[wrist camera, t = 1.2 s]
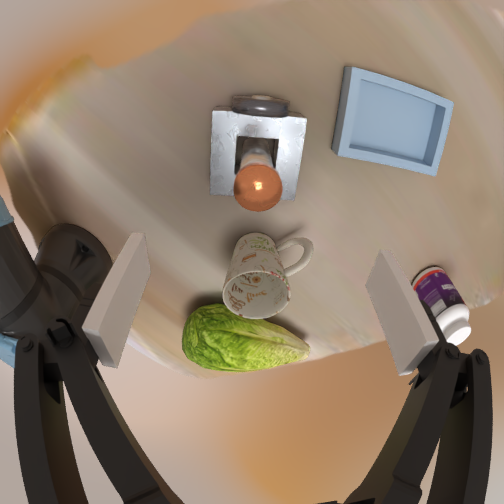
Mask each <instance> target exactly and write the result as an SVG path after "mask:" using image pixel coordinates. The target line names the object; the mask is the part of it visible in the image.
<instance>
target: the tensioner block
mask: <svg viewBox="0 0 504 504" xmlns="http://www.w3.org/2000/svg"><path fill="white" fill-rule="evenodd" d="M289 106H290V102H289V101H286V100H282V99H277V98H271V97H270V96H263V95H252V96H233V102H232V107H221V106H217V107H216V108H215V109H214V110H213V113H212V135H211V165H210V195H227V196H234V192H233V187H234V180H235V177H236V174H237V173H238V171H239V170H240V166H241V164H236V151H237V137H238V136H249V137H262V138H273V139H275V146H274V155H273V163H272V164H273V168H274V169H275V170H276V171H277V172H278V174H279V175H280V178H281V182H282V187H283V191H282V196H281V198H280V199H282V200H293V201H294V199H295V193H296V187H297V181H298V175H299V169H300V163H301V156H302V150H303V143H304V136H305V130H306V123H307V118H306V117H304V116H303V115H302V114H301V113H294V112H289Z"/></svg>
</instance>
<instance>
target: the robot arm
mask: <svg viewBox="0 0 504 504" xmlns="http://www.w3.org/2000/svg"><path fill="white" fill-rule="evenodd" d="M150 274H151V270H150V264H149V258H148V252H147V246H146V239H145V233H131V235H130V237H129V238H128V240H127V242H126V243H125V245H124V247H123V248H122V250H121V252H120V254H119V255H118V257H117V259H116V261H115V263H114V264H113V266H112V262H111V259H110V257H109V255H108V253H107V251H106V250H105V248H104V247H103V245H102V244H101V243H100V242H99V241H98V240H97V239H96V238H95V237H94V236H93V235H91V234H90V233H89V232H87V231H86V230H84V229H82V228H80V227H77V226H75V225H70V224H60V225H56V226H54V227H53V228H51V229H50V230H49V231H48V232H47V234H46V235H45V236H44V237H43V239H42V240H41V243H40V245H39V251H38V253H37V255H36V258H35V260H34V261H33V259H32V257H31V255H30V254H29V251H28V250H27V248H26V246H25V244H24V242H23V240H22V238H21V236H20V234H19V232H18V230H17V228H16V226H15V223H14V218H13V216H11V215H10V213H9V211H8V209H7V207H6V205H5V203H4V200H3V198H2V197H1V196H0V359H1V360H2V361H4V362H5V363H7V364H8V365H10V366H11V367H13V368H14V410H15V412H14V413H15V426H16V438H17V446H18V454H19V460H20V466H21V472H22V477H23V482H24V486H25V491H26V495H27V498H28V502H29V504H88V500H87V498H86V495H85V491H84V488H83V485H82V482H81V478H80V475H79V471H78V467H77V463H76V459H75V455H74V451H73V446H72V441H71V437H70V431H69V426H68V420H67V413H66V406H65V399H64V390H63V381H64V384H65V386H66V389H67V392H68V394H69V397H70V400H71V402H72V405H73V407H74V410H75V412H76V414H77V416H78V419H79V421H80V424H81V425H82V428H83V430H84V432H85V434H86V436H87V438H88V441H89V443H90V445H91V447H92V449H93V451H94V452H95V454H96V456H97V458H98V460H99V462H100V464H101V465H102V467H103V469H104V471H105V472H106V474H107V476H108V477H109V479H110V481H111V482H112V484H113V485H114V487H115V489H116V490H117V492H118V493H119V495H120V496H121V498H122V500H123V502H124V504H184V503H183V502H182V500H181V499H180V498H179V497H178V496H177V495H176V494H175V493H174V492H173V491H172V490H171V488H170V487H169V486H168V485H167V483H166V482H165V481H164V479H163V478H162V477H161V476H160V474H159V473H158V471H157V470H156V469H155V467H154V466H153V464H152V463H151V461H150V460H149V459H148V457H147V456H146V454H145V453H144V451H143V450H142V448H141V446H140V445H139V443H138V442H137V440H136V439H135V437H134V435H133V434H132V432H131V431H130V429H129V427H128V425H127V424H126V422H125V420H124V418H123V417H122V415H121V413H120V412H119V410H118V408H117V406H116V404H115V402H114V400H113V398H112V396H111V394H110V393H109V390H108V388H107V386H106V384H105V382H104V380H103V378H102V376H101V374H100V372H99V370H98V368H97V366H96V365H97V362H98V359H99V360H100V362H101V363H102V365H104V366H108V367H113V368H118V365H119V362H120V358H121V355H122V352H123V349H124V346H125V343H126V340H127V337H128V334H129V331H130V328H131V325H132V322H133V319H134V316H135V314H136V311H137V308H138V305H139V303H140V300H141V297H142V294H143V292H144V289H145V287H146V284H147V281H148V279H149V276H150ZM365 286H366V288H367V290H368V293H369V295H370V298H371V300H372V303H373V305H374V308H375V310H376V313H377V315H378V318H379V320H380V323H381V326H382V328H383V331H384V334H385V336H386V339H387V342H388V344H389V347H390V350H391V353H392V356H393V359H394V362H395V365H396V368H397V371H398V374H399V375H407V374H411V373H412V372H413V371H414V370H415V368H418V371H419V373H418V374H417V375H416V376H415V377H414V378H413V379H412V380H411V381H410V383H409V385H411V384H412V383H413V385H412V388H411V390H410V392H409V395H408V397H407V399H406V402H405V404H404V406H403V408H402V411H401V413H400V415H399V417H398V419H397V421H396V424H395V425H394V427H393V430H392V431H391V433H390V435H389V437H388V439H387V441H386V443H385V445H384V447H383V448H382V450H381V452H380V454H379V456H378V458H377V459H376V461H375V463H374V464H373V466H372V468H371V469H370V471H369V472H368V474H367V476H366V478H365V479H364V480H363V482H362V483H361V485H360V486H359V487H358V488H357V489H356V490H354V491H353V492H352V493H351V494H350V495H349V497H348V498H347V499H346V501H345V502H344V503H343V504H418V503H419V500H420V498H421V496H422V490H421V488H420V484H421V481H422V479H423V477H424V475H425V473H426V470H427V468H428V466H429V464H430V461H431V459H432V456H433V454H434V451H435V449H436V446H437V444H438V441H439V438H440V443H439V449H438V455H437V461H436V466H435V471H434V476H433V480H432V485H431V489H430V493H429V496H428V500H427V504H484V501H485V496H486V489H487V484H488V477H489V469H490V461H491V448H492V426H493V425H492V424H493V423H492V422H493V410H492V388H491V387H492V386H491V375H490V364H489V359H488V356H487V355H486V353H485V352H484V351H483V350H481V349H475V350H473V351H472V353H471V354H465V353H460V351H459V349H458V347H457V346H455V345H454V344H452V343H448V342H447V340H446V338H445V336H444V334H443V332H442V330H441V328H440V326H439V324H438V322H436V318H435V316H433V312H432V311H431V309H430V307H429V306H428V305H427V304H426V302H425V301H424V300H419V299H418V297H417V295H416V293H415V291H414V289H413V288H412V286H411V284H410V282H409V280H408V279H407V277H406V275H405V273H404V272H403V270H402V268H401V267H400V265H399V263H398V262H397V260H396V258H395V257H394V255H393V253H392V252H391V251H390V250H380V251H379V253H378V256H377V259H376V261H375V264H374V266H373V268H372V271H371V273H370V276H369V278H368V280H367V283H366V285H365ZM467 387H468V391H467ZM440 435H441V436H440ZM318 504H340V503H337V501H331V502H325V503H318Z"/></svg>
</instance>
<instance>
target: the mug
mask: <svg viewBox="0 0 504 504" xmlns="http://www.w3.org/2000/svg"><path fill="white" fill-rule="evenodd" d="M296 244H299V245H301V246H303V247H304V254H303V256H302V258H301V259H300V260H299V261H298V262H297V263H296V264H294V265H292V266H290V267H288V268H286V269H283V266H282V263H281V260H280V257H279V254H278V251H281V250H283V249H285V248H287V247H289V246H291V245H296ZM312 254H313V244H312V242H311V241H310V240H309V239H306V238H293V239H290V240H288V241H286V242H285V243H283V244H282V245H280V246H279V247H277V248H276V246H275V243H274V242H273V240H272V239H271V238H270V237H269V236H267V235H265V234H262V233H249V234H246V235H244V236H243V237H241V238H240V239H239V240H238V242H237V244H236V246H235V249H234V252H233V256H232V259H231V263H230V266H229V269H228V273H227V276H226V279H225V283H224V286H223V292H222V297H223V301H224V303H225V305H226V306H227V308H228V309H229V310H230V311H232V312H233V313H235V314H237V315H239V316H241V317H245V318H250V319H262V318H267V317H271V316H273V315H275V314H277V313H279V312H281V311H282V310H283V309H284V308H285V307H286V306H287V304H288V302H289V300H290V295H291V292H290V287H289V283H288V280H287V277H288V276H290V275H292V274H294V273H296V272H298V271H299V270H301V269H302V268H304V267H305V266H306V265H307V263H308V262H309V260H310V259H311V257H312Z"/></svg>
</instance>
